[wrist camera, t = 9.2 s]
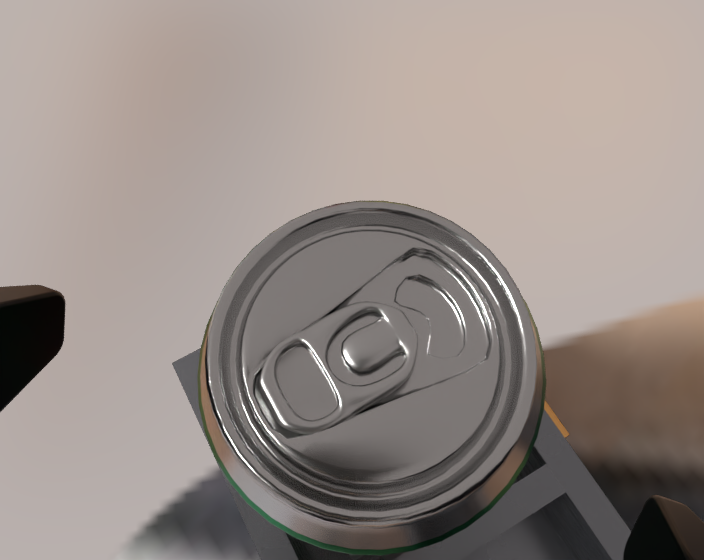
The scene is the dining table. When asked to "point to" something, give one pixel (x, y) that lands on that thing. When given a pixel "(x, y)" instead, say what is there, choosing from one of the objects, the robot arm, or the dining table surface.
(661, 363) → the dining table surface
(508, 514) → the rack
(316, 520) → the soda can
